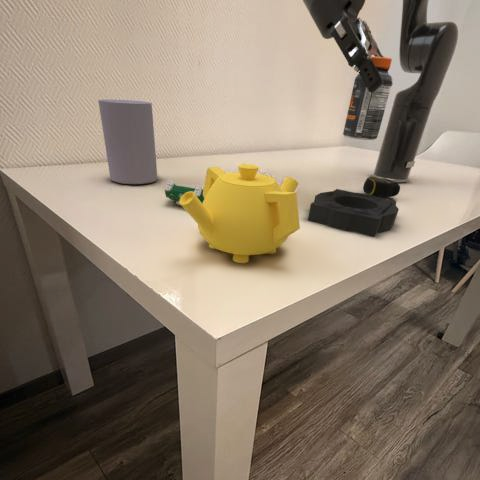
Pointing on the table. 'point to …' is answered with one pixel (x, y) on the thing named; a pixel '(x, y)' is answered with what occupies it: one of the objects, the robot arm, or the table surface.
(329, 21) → the robot arm
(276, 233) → the teapot
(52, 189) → the table surface
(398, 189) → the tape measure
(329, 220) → the socket pad
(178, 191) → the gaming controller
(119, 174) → the container
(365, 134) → the pill bottle
